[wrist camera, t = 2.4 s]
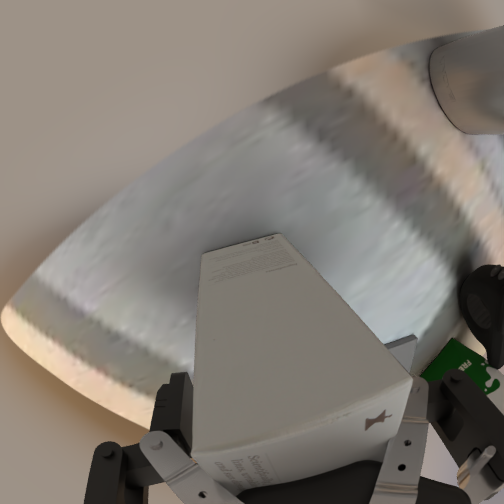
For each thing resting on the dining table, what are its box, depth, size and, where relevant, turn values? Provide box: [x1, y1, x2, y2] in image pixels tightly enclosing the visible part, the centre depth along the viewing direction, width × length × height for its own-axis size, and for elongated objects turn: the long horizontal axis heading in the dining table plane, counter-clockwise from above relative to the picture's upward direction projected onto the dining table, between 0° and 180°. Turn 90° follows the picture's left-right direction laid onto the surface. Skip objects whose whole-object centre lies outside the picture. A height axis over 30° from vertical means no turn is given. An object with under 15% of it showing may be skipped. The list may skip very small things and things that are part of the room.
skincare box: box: [191, 233, 413, 496], centre depth 13 cm, size 8×6×15 cm
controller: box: [460, 265, 504, 369], centre depth 19 cm, size 4×12×10 cm, turn 29°
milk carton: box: [420, 338, 504, 415], centre depth 17 cm, size 9×9×20 cm
